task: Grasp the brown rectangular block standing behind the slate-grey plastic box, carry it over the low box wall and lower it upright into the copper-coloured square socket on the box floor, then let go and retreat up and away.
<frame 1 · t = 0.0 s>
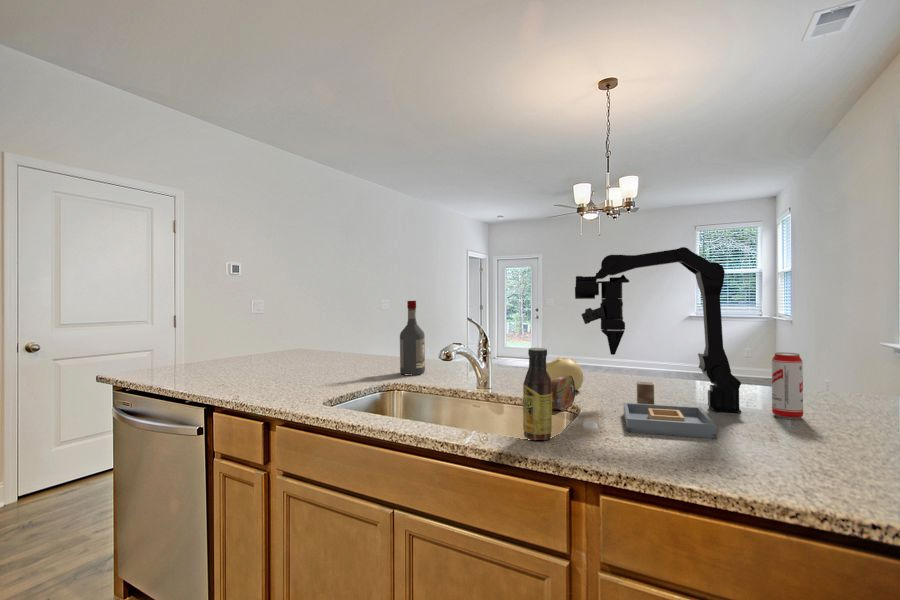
hand: (612, 352, 130), 15 cm above the worktop, fingers open, 9 cm apart
sauce bottle: (537, 438, 99), on the worktop
liquor: (412, 374, 185), on the worktop
brown rectangular block: (645, 408, 124), on the worktop
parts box: (665, 425, 107), on the worktop
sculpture: (564, 390, 149), on the worktop
beer can: (787, 417, 113), on the worktop
tin: (562, 407, 127), on the worktop
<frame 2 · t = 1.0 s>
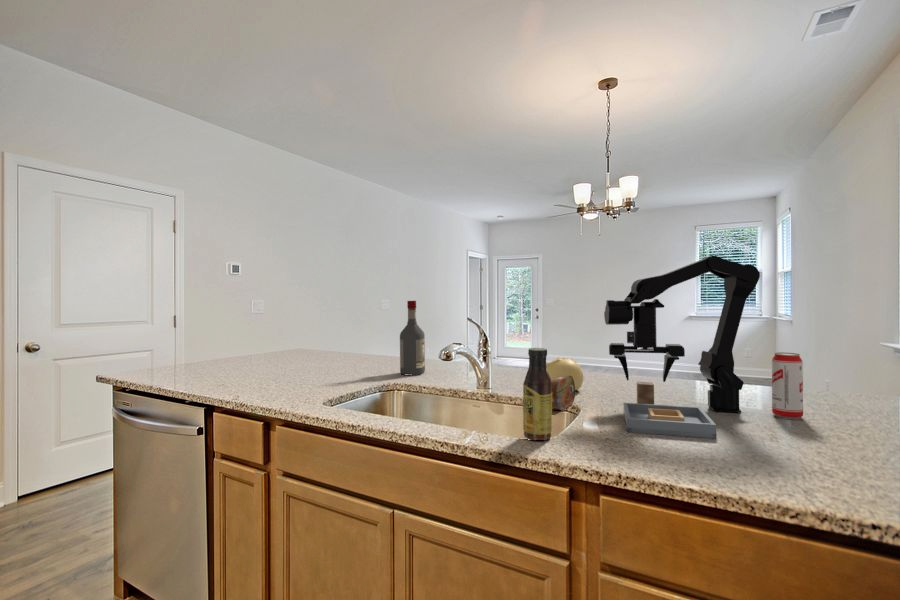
hand: (645, 380, 123), 8 cm above the worktop, fingers open, 9 cm apart
nothing on the worktop moved.
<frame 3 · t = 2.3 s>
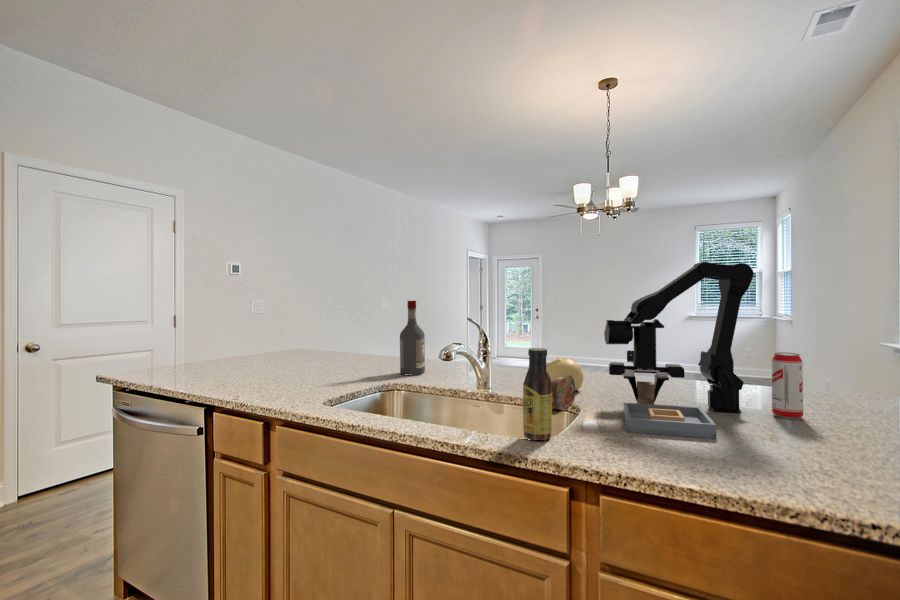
hand: (645, 400, 124), 2 cm above the worktop, fingers closed on brown rectangular block, 4 cm apart
brown rectangular block: (645, 408, 124), on the worktop, touching gripper
everything else where it was.
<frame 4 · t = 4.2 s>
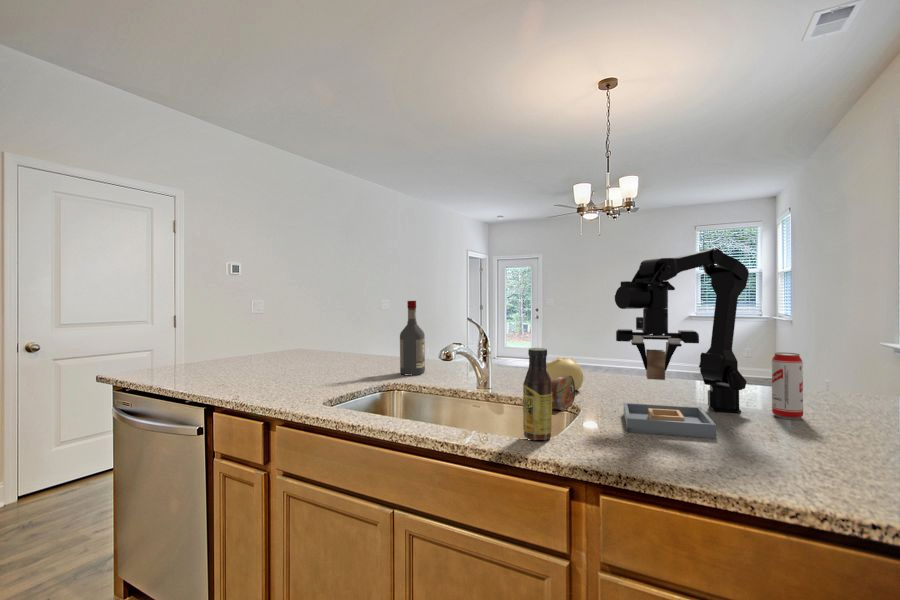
hand: (655, 370, 113), 12 cm above the worktop, fingers closed on brown rectangular block, 4 cm apart
brown rectangular block: (655, 378, 113), point 10 cm above the worktop, touching gripper
everything else where it was.
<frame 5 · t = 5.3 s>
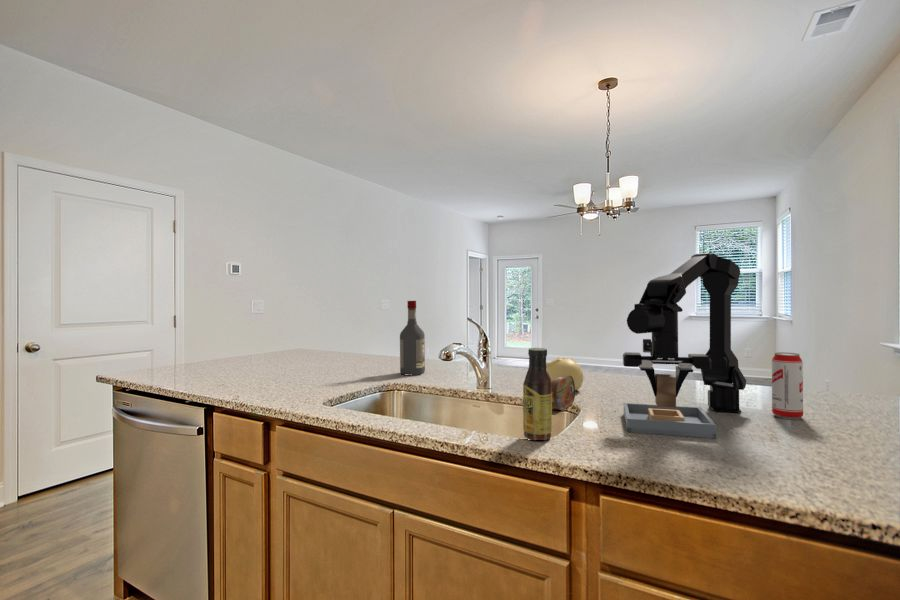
hand: (665, 396, 107), 7 cm above the worktop, fingers closed on brown rectangular block, 4 cm apart
brown rectangular block: (665, 404, 107), point 5 cm above the worktop, touching gripper
everything else where it was.
when the fingers open (4 cm above the worktop, at t = 6.2 s): brown rectangular block stays where it is, resting on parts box.
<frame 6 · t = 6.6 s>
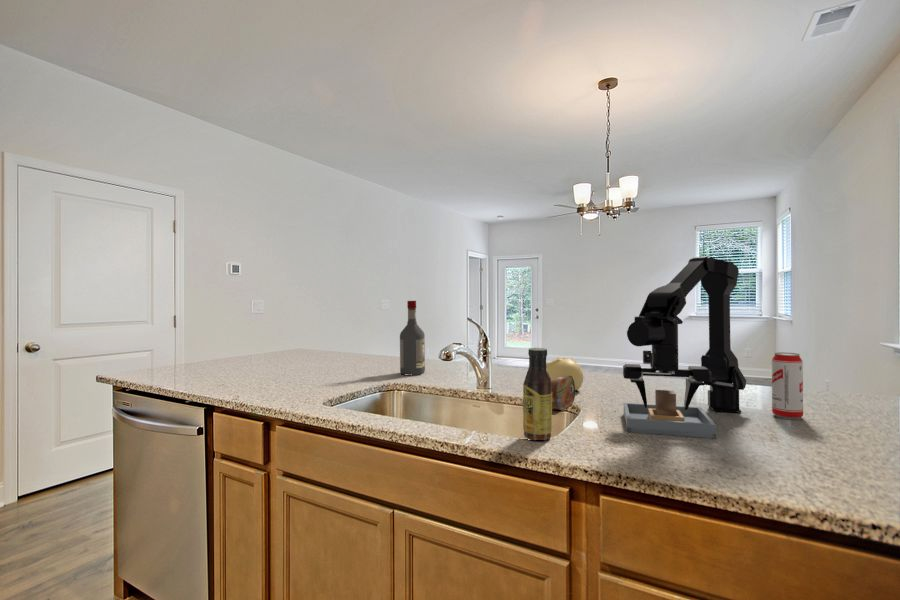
hand: (665, 408, 107), 4 cm above the worktop, fingers open, 8 cm apart
brown rectangular block: (665, 421, 107), point 1 cm above the worktop, touching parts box
everything else where it was.
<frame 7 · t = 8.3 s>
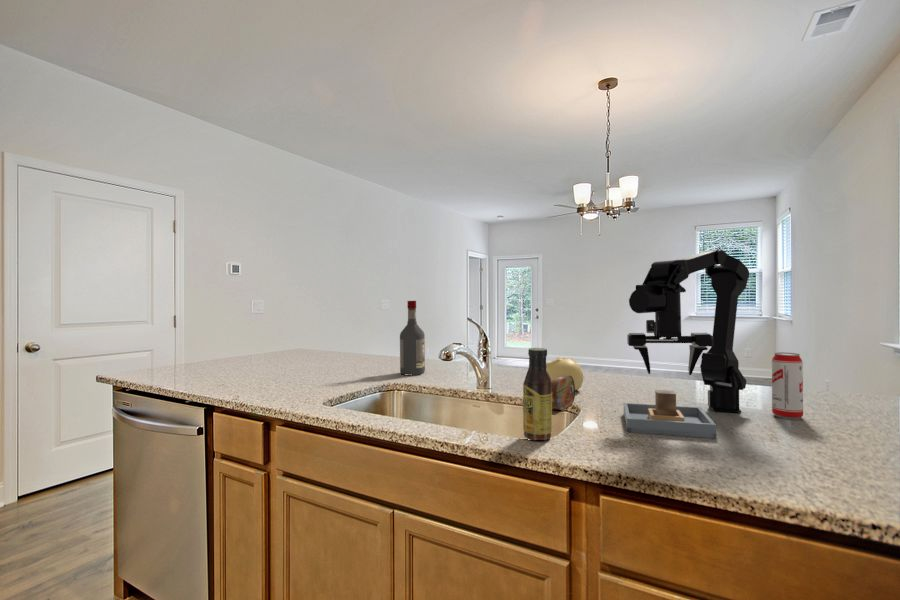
hand: (669, 374, 111), 12 cm above the worktop, fingers open, 9 cm apart
nothing on the worktop moved.
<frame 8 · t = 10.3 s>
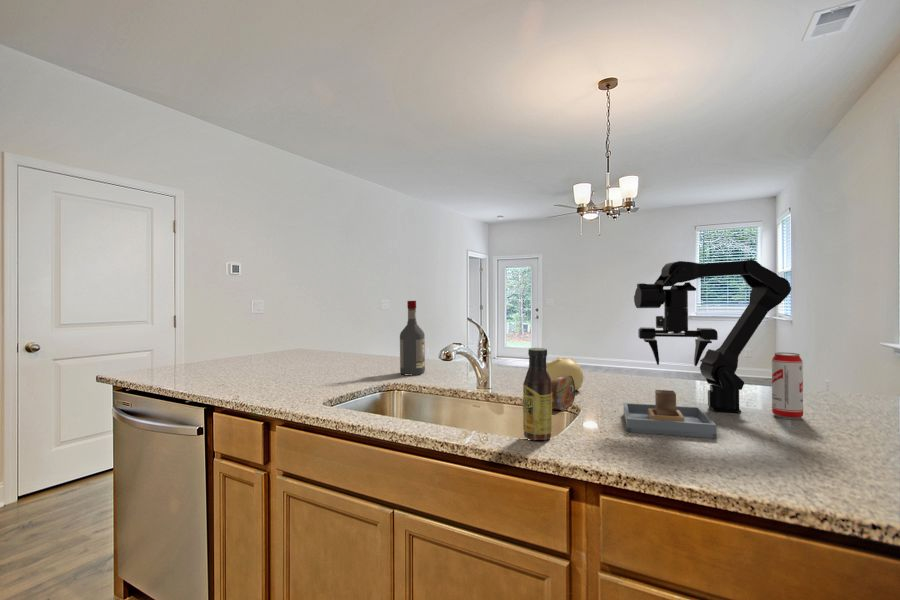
hand: (676, 365, 122), 12 cm above the worktop, fingers open, 9 cm apart
nothing on the worktop moved.
at the end: brown rectangular block 0.0 cm off-centre on the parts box, point 1.0 cm above the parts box's base; brown rectangular block tilted 0°; the gripper is holding nothing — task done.
